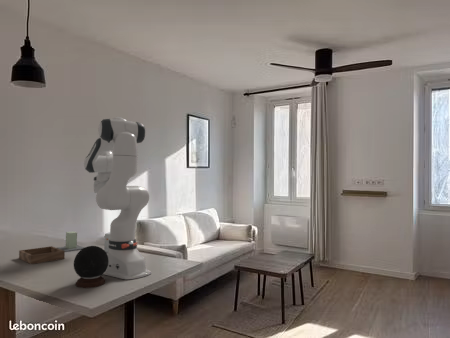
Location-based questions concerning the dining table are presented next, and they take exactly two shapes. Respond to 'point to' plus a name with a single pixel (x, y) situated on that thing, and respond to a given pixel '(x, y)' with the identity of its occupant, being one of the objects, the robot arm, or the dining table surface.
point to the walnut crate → (41, 254)
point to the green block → (71, 240)
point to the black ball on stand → (90, 266)
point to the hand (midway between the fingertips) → (104, 201)
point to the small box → (106, 242)
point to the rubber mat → (70, 249)
